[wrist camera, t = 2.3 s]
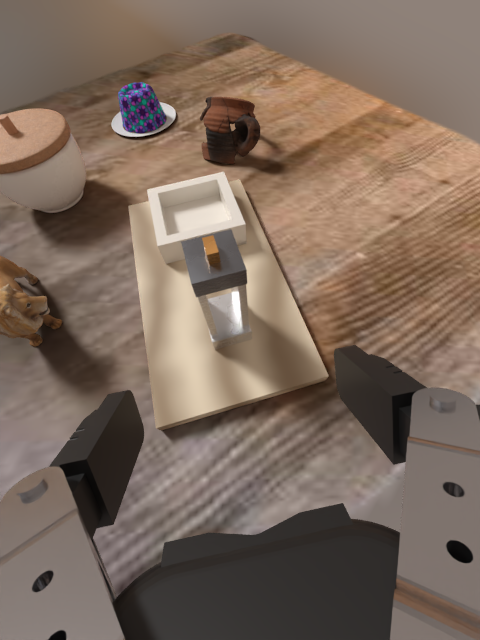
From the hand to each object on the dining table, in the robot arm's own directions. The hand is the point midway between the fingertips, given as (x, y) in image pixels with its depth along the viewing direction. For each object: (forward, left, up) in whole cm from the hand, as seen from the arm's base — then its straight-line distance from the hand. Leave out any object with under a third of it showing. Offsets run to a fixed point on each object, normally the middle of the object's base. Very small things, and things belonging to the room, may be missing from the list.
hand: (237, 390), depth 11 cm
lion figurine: (-19, +19, -16) cm, 32 cm away
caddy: (+1, +26, -14) cm, 29 cm away
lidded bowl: (-18, +41, -16) cm, 47 cm away
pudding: (-3, +58, -16) cm, 60 cm away
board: (0, +18, -16) cm, 24 cm away
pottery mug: (+10, +43, -16) cm, 47 cm away
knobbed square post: (+1, +11, -14) cm, 18 cm away
